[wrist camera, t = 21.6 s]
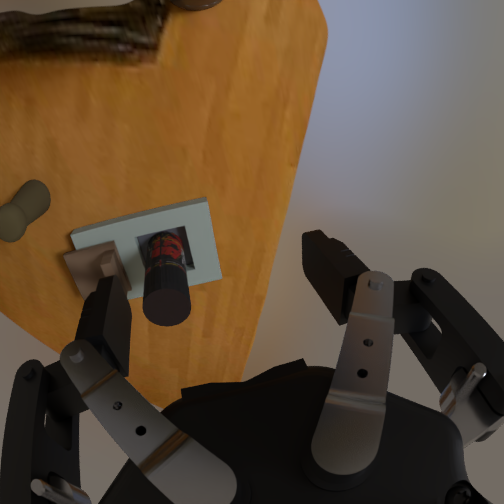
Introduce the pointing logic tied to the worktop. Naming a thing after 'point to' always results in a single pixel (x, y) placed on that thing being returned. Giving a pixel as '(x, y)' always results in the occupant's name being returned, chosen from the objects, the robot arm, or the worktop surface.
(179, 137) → the worktop surface
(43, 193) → the cork
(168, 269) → the deodorant
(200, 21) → the worktop surface
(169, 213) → the socket board
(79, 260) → the cover
